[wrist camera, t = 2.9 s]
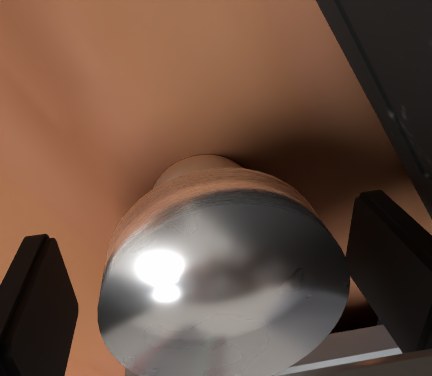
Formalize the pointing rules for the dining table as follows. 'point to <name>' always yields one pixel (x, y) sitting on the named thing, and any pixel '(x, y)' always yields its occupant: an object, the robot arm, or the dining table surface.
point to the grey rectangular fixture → (343, 349)
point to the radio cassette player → (393, 73)
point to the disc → (220, 278)
